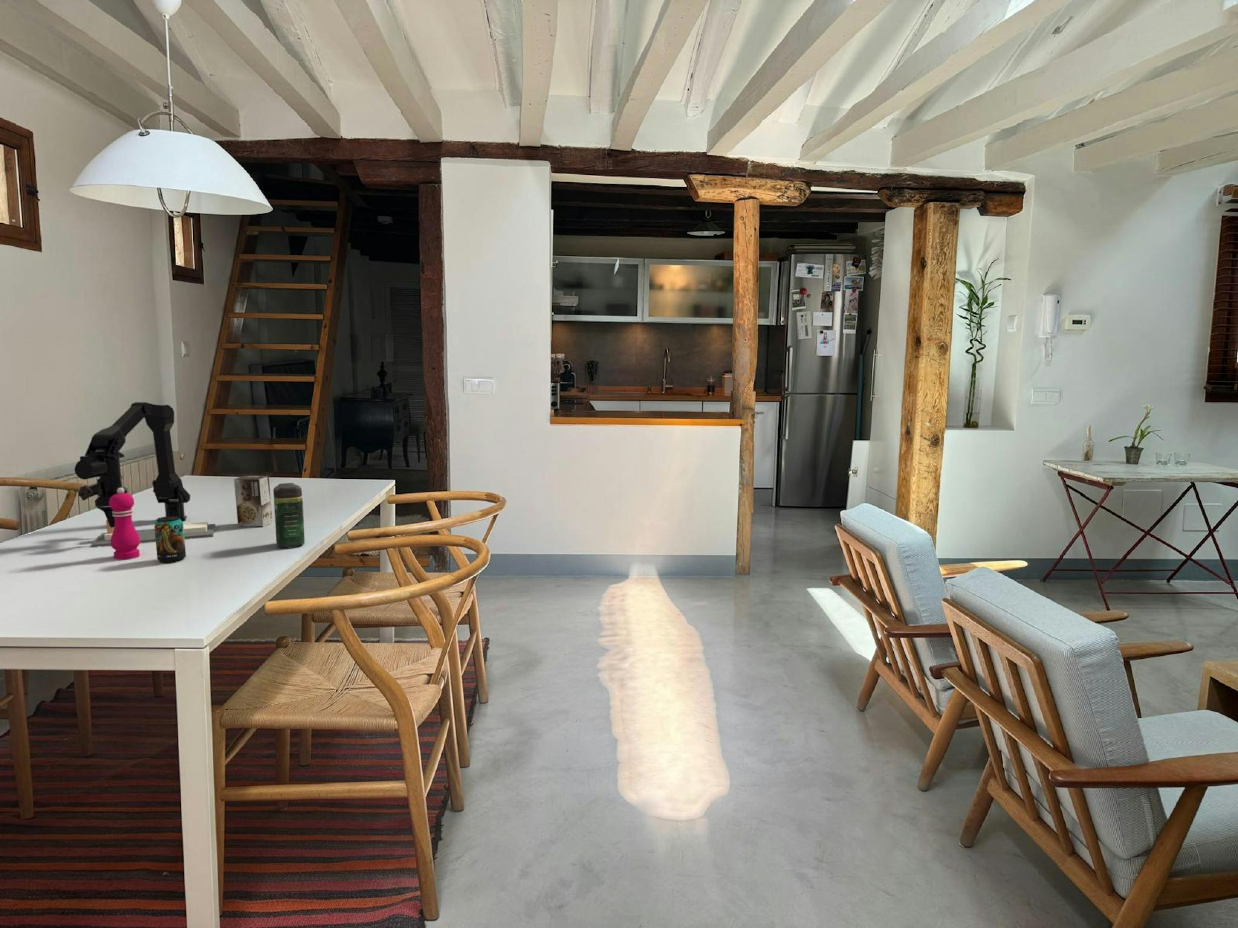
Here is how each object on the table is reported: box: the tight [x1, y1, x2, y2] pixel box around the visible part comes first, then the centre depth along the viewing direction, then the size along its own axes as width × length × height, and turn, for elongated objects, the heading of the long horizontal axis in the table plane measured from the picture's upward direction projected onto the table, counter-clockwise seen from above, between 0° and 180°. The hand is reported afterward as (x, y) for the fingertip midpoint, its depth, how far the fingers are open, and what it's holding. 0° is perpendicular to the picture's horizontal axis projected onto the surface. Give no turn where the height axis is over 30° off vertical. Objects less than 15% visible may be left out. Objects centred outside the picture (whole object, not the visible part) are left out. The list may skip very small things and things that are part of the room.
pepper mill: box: [109, 488, 141, 561], centre depth 226 cm, size 7×7×20 cm
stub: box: [104, 519, 115, 540], centre depth 248 cm, size 8×6×6 cm
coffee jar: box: [272, 482, 306, 549], centre depth 240 cm, size 10×8×19 cm
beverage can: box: [153, 516, 187, 564], centre depth 224 cm, size 7×7×12 cm
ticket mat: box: [92, 521, 216, 548], centre depth 252 cm, size 16×32×2 cm, turn 114°
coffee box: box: [233, 475, 273, 527], centre depth 267 cm, size 9×6×16 cm
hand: (114, 524), depth 247 cm, fingers open, 9 cm apart
